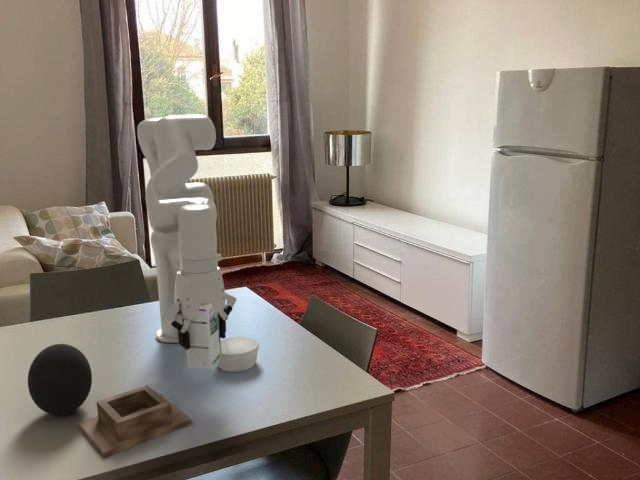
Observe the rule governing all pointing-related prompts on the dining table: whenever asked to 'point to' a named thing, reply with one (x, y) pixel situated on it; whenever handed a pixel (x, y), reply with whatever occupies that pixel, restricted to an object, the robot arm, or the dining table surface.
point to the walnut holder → (132, 420)
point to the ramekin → (238, 354)
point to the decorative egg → (59, 379)
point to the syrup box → (204, 339)
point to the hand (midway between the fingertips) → (203, 341)
